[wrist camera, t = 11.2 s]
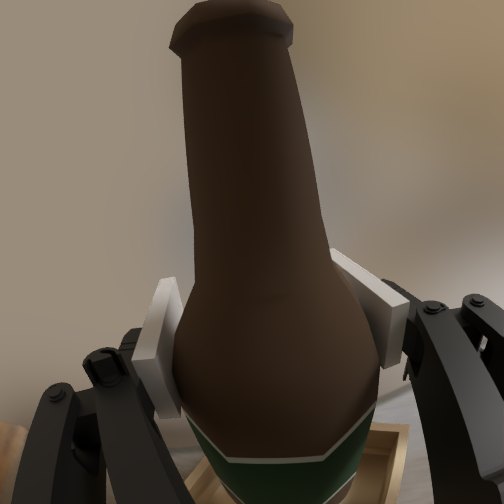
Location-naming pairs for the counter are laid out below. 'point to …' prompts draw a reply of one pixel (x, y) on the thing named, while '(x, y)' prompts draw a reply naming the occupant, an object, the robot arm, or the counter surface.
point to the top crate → (365, 481)
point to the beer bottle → (264, 274)
